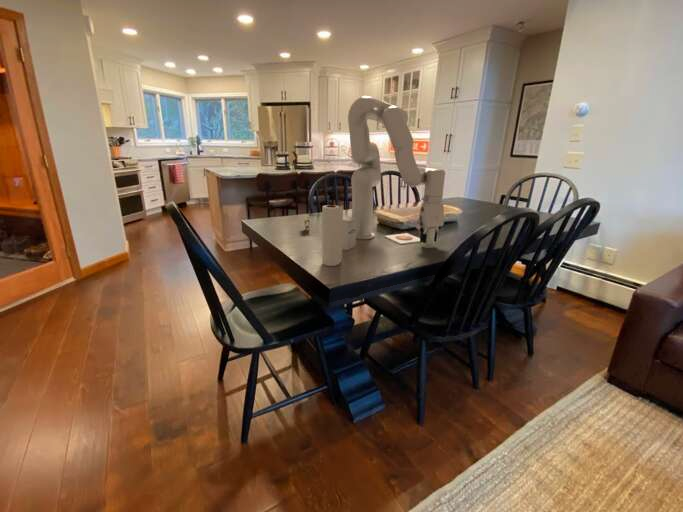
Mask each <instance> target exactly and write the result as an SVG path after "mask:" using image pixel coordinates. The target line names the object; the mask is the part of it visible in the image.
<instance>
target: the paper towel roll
mask: <svg viewBox="0 0 683 512" xmlns="http://www.w3.org/2000/svg"><path fill="white" fill-rule="evenodd" d="M321 209H322V213H321V215H322V216H321V217H322V221H321V223H322V224H321V225H322V231H321V232H322V241H321V242H322V247H321V248H322V249H321V250H322V251H321V252H322V257H321V258H322V265H324V266H328V267H335V266H338V265H339V264H341V262H342V261H343V250H342V238H343V216H344V205H341V206H339V205H336V204H334V205H333V204H327V205H325V204H324V205H322V208H321Z"/></svg>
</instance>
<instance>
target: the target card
mask: <svg viewBox="0 0 683 512" xmlns="http://www.w3.org/2000/svg"><path fill="white" fill-rule="evenodd" d="M385 237H386V239H388V240H389V241H393V242H394V243H396V244H399V245H401V246H402V245H407V244H409V245H410V244H415V243H416V244H417V243H421V242H420V237H417V236H415V235H412V234H410V233H408V232H405V233H398V234H388V235H384V238H385Z"/></svg>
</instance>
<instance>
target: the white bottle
mask: <svg viewBox="0 0 683 512" xmlns="http://www.w3.org/2000/svg"><path fill="white" fill-rule="evenodd" d="M356 223H357V218H353V217H352V216H345V215H343V238H342V251H346V250H347V251H348V250H350V249H353V248H355V247H356V244H357V243H356V242H357V239H356Z"/></svg>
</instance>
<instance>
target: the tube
mask: <svg viewBox="0 0 683 512" xmlns="http://www.w3.org/2000/svg"><path fill="white" fill-rule="evenodd" d="M435 229H436V227H430V228H427V231H426V233H425V234H427V237H426V243H423V242H421V247H422V248H424V249H433V248H434V244H435V243H434V242H435V241H434V237H435ZM423 230H424V228H423Z"/></svg>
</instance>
